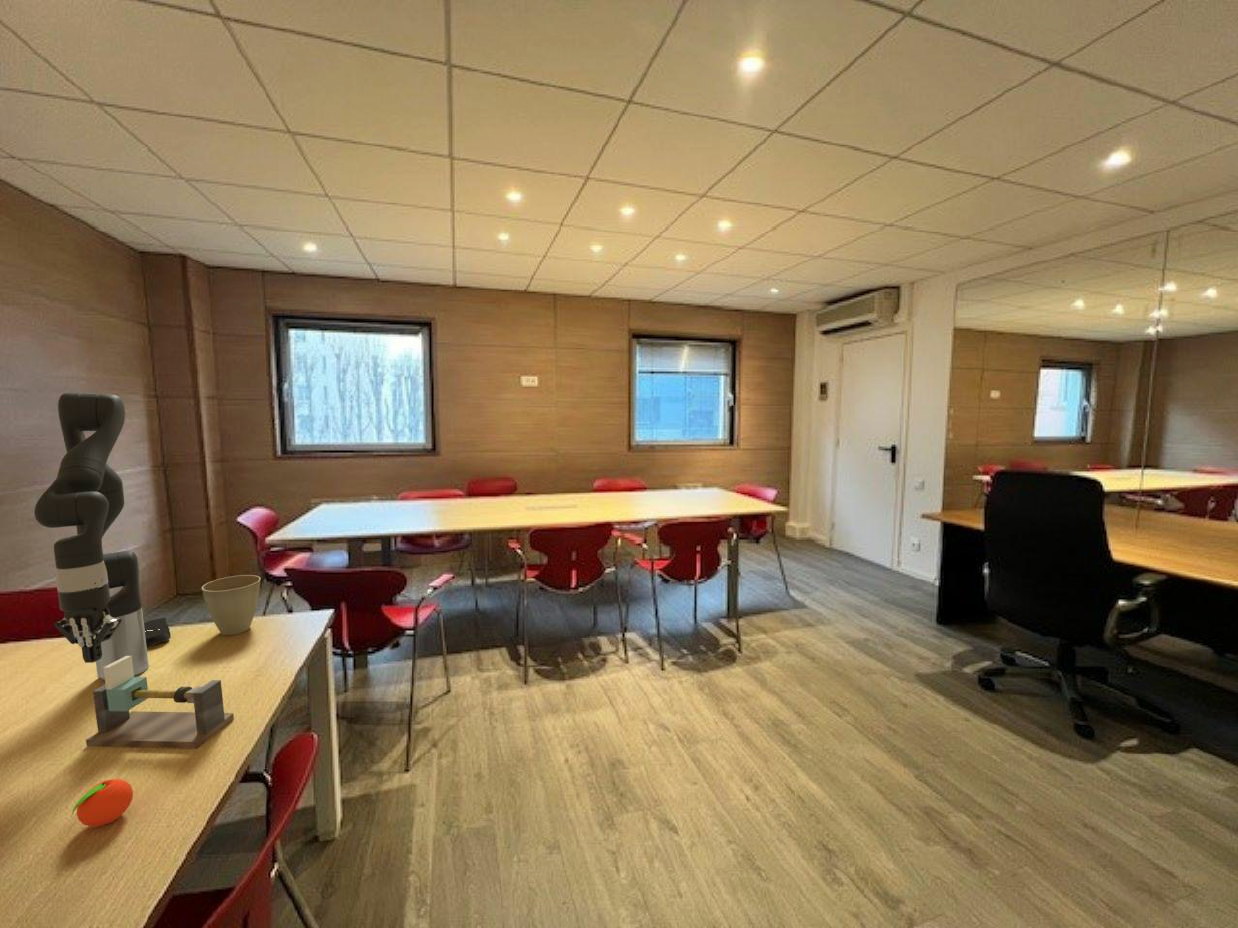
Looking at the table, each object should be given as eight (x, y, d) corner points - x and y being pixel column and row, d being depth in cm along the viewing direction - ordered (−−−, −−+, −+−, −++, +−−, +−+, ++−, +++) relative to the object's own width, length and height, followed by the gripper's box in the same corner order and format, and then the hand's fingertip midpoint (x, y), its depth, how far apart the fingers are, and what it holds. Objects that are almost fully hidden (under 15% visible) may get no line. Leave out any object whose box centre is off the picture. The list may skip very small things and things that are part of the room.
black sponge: (172, 642, 154) (170, 631, 154) (133, 652, 148) (132, 640, 148) (167, 626, 166) (166, 616, 165) (131, 635, 160) (130, 624, 159)
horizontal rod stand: (86, 746, 108) (80, 697, 106) (132, 717, 118) (127, 672, 116) (197, 748, 107) (191, 699, 106) (233, 718, 117) (229, 674, 116)
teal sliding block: (108, 710, 109) (103, 667, 108) (131, 697, 114) (126, 655, 113) (126, 711, 109) (121, 667, 108) (148, 697, 114) (143, 655, 113)
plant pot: (227, 644, 153) (222, 593, 151) (195, 636, 158) (190, 587, 156) (275, 624, 167) (271, 577, 165) (244, 617, 172) (240, 572, 170)
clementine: (88, 846, 83) (83, 807, 83) (60, 836, 85) (55, 798, 84) (145, 809, 91) (140, 772, 90) (118, 800, 93) (113, 765, 92)
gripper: (32, 590, 105) (44, 669, 107) (94, 590, 105) (105, 669, 107) (72, 578, 113) (82, 652, 115) (130, 578, 112) (139, 652, 114)
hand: (93, 660), depth 111 cm, fingers closed
